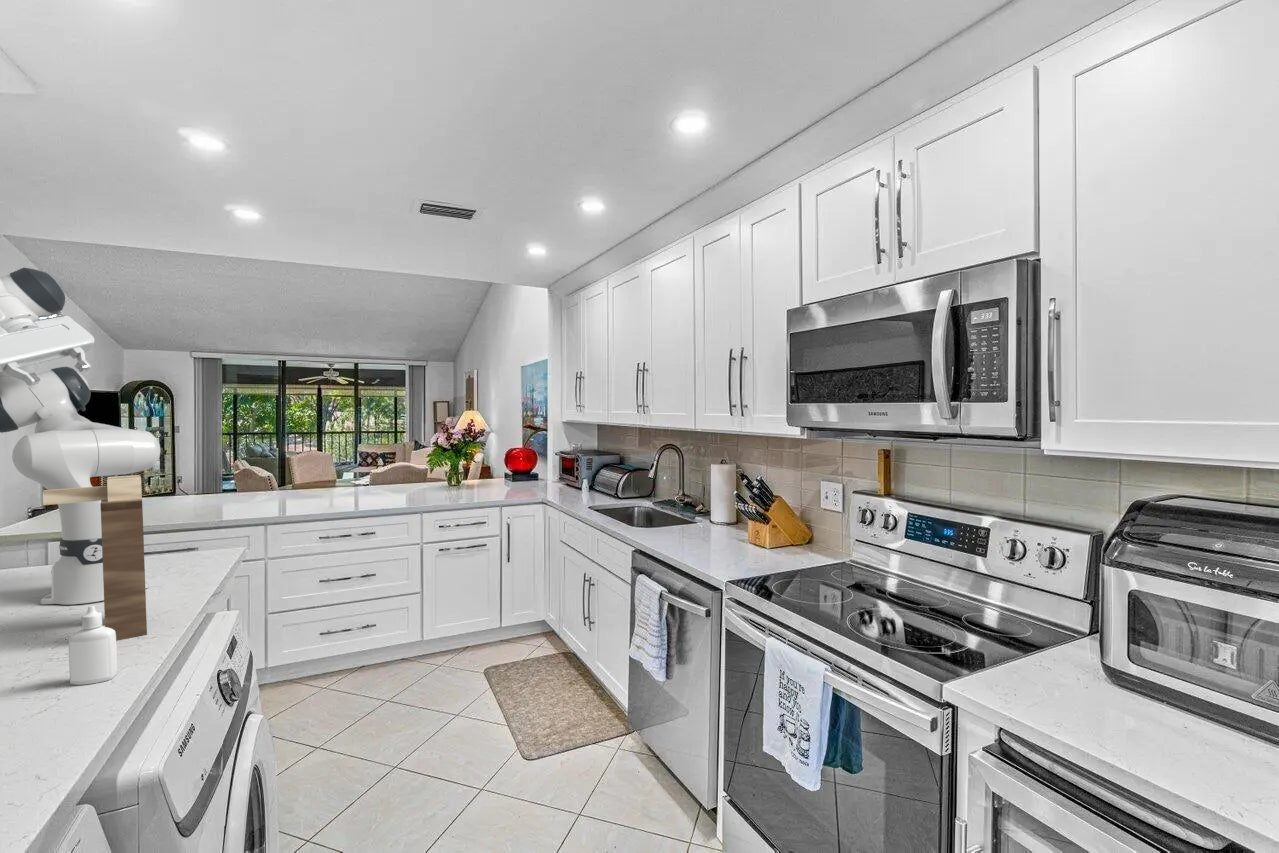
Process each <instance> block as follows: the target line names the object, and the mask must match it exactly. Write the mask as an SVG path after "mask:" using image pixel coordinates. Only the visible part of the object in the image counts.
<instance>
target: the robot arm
mask: <svg viewBox="0 0 1279 853" xmlns="http://www.w3.org/2000/svg"><path fill="white" fill-rule="evenodd" d="M65 304H66V295H65V293H64V291H63V289H62V288H61V285H60V284H59V283H58V282H57V281H56V280H55V278H53V277H52V275H50V274H49V273H47V272H46V271H43V270H39V269H35V268H30V267H21V268H20V269H17V270H14V271H13V272H10V273H9V274H6V275H3V276H1V277H0V433H2V434H3V433H9V432H14V431H17V430H19V428H23V427H26V426H29V425H33V424H35V427H34V433H31V434H25V435H24V436H22V437H21V438H20V439H19V440H18V441H17V442H16V444H15V445H14V448H13V449H12V454H11V455H12V456H11V458H12V463H13V465H14V467H15V469H16V470H17V471H18V472H19V473H20V474H21V475H23V476H24V477H26V478H28V479H29V480H32V481H34V482H36V483H37V484H40V486H43V487H44V488H45V490H53V489H68V488H82V487H94V486H93V485H92V484H91V478H93V477H95V478H96V477H110V476H119V475H120V476H121V475H122V476H123V475H128V474H129V475H130V474H134V473H138V472H143V471H147V470H151V469H152V468H153V467H154V466H155V465H156V464H157V463H158V461H159V459H160V456H161V445H160V442H159V440H158V439H157V437H156V436H155V435H154V434H153V433H151V432H150V431H146V430H139V429H132V428H125V427H120V426H115V425H111V424H105V423H100V422H93V421H91V420H90V419H88V418H86V417H85V416H82V415H80V413H78V412H79V410H81V411H82V412H84V411H85V412H86V409H87V408H86V405H88V403H89V402H90V400H91V395H92V392H91V388H90V384H89V382H88V380H87V378H86V377H84V375H83V374H81V373H83V372H86V371H90V369H91V368H92V366H91V364H90V363H89V362H88V361H87V360H86V353H85V352H89V351H90V350H91V349H92V347H93V346H94V345H95V341H96V340H95V337H94V336H93V335H92V334H91V333H90V332H89V331H88V330H86V329H85V328H84V327H83V326H82V325H80V324H79V323H78V322H76V321H75V320H74V319H73V318H72V317H71V316H69V315H65V314H59V312H61V311H63V309H64V306H65ZM68 356H70V357H71V358H72V359H74V360H75V359H76V360H77V362H76V364H75V365H74V368H76V369H77V370H78V371H76V370H75V369H74V368H72V367H69V366H60V367H54V368H51V370H48V371H44V372H43V371H42V372H38V373H36V371H37V369H38V366H39V364H40V363H41V364H42V363H45V362H49V361H53V360H57V359H60V358H65V357H68ZM57 507H58V512H59V517H60V523H61V525H60V526H61V537H62V538H60V540H59V545H58V548H59V555H60V556H61V557H60V558H59V560H58V561H56V562H55V563H54V564H53V565H51V570H50V573H51V592H50V593H48V594H47V595H45V596H44V597H43V598H41V599H40V605H81V604H83V605H84V604H90V603H97V602H102V601H103V602H104V584H103V557H102V531H101V501H90V502H77V503H65V504H57ZM148 588H149V583H148V582H146V581H145V590H147V589H148Z"/></svg>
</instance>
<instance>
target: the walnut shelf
mask: <svg viewBox="0 0 1279 853" xmlns="http://www.w3.org/2000/svg"><path fill="white" fill-rule="evenodd" d="M143 509H144V508H143V498H142V499H132V500H120V501H108V500H102V501H101V531H102V557H103V584H104V600H103V604H104V605H103V606H104V627H108V628H111V629H113V630H115V632H116V641H120V640H126V639H130V638H135V637H136V638H137V637H142V636H146V635H148V627H147V626H148V624H147V621H148V620H147V600H146V599H147V598H146V597H147V595H146V589H145V582H146V570H145V569H146V568H145V544H144V543H145V542H144V540H145V537H144V515H143V514H144V510H143Z"/></svg>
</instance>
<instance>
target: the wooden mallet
mask: <svg viewBox="0 0 1279 853" xmlns="http://www.w3.org/2000/svg"><path fill="white" fill-rule="evenodd" d="M106 483H107V485H99V486H93V487H82V488H68V489H53V490H47V489H44V490H42V505H43V506H49V505H52V506H53V505H58V504H65V503H77V502H90V501H102V500H108V501H120V500H132V499H142V500H143V498H142V495H143V492H142V489H143V488H142V477H141V475H140V474H138V475H137V474H134V475H122V476H121V475H120V476H119V475H117V476H107V479H106Z"/></svg>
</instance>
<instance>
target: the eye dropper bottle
mask: <svg viewBox="0 0 1279 853" xmlns="http://www.w3.org/2000/svg"><path fill="white" fill-rule="evenodd" d="M117 650H118V648H117V640H116V632H115V630H113V629H111V628H108V627H105V626H103V613H102V612H99V611H97V610H96V606H95V605H89V606H88V607H87V612H86V613H85V614H83V615H82V616H81V629H79V630H78V631H76V632H74V633H73V634H72V635H71V636H70V637H69V639H68V663H69V665H68V666H69V683H70V684H71V685H75V686H76V685H77V686H83V685H95V684H99V683H104V682H108V681H111V680H112V679H114V678H115V677H116V676H117V675H118V651H117Z"/></svg>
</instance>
